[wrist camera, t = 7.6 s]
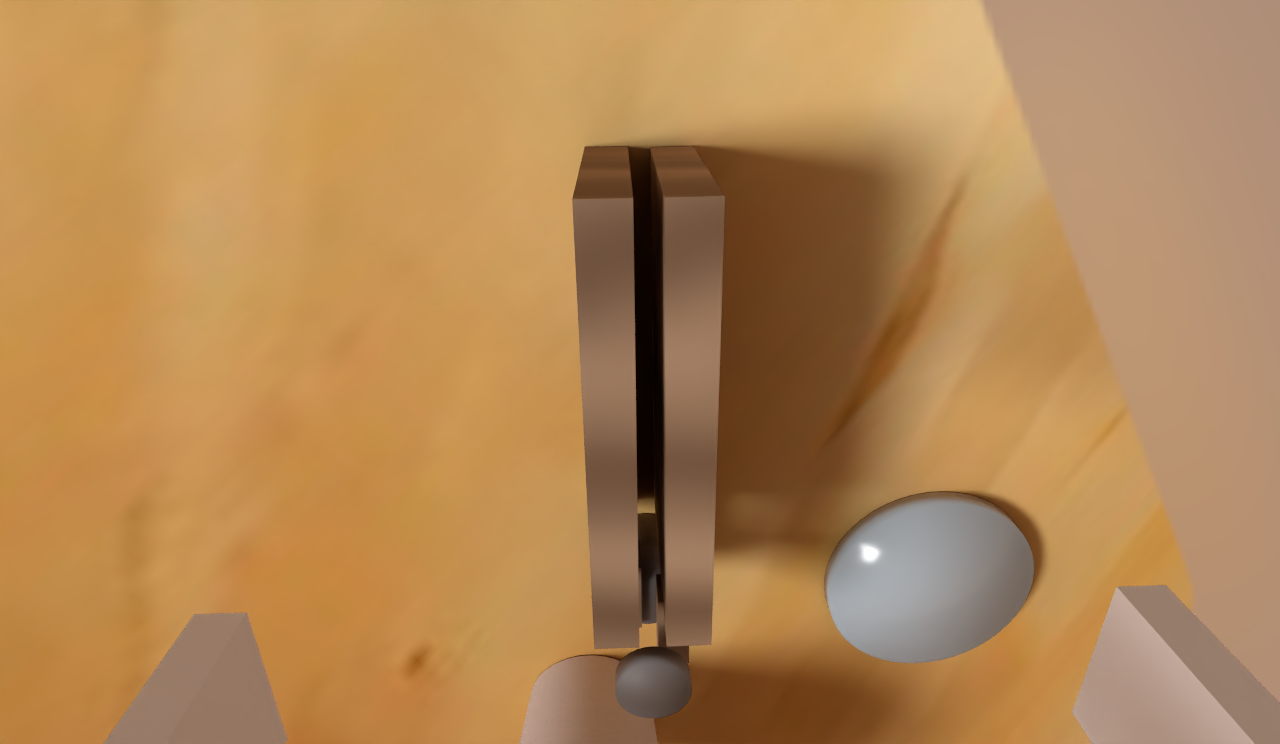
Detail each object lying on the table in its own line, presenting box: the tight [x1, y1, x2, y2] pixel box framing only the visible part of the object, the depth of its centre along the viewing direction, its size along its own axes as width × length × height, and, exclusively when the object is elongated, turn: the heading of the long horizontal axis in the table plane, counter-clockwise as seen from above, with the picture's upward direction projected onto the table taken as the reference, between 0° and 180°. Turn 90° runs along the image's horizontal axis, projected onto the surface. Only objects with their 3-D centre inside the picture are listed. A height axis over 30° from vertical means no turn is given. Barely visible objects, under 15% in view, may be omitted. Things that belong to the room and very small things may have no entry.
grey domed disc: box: [824, 492, 1034, 663], centre depth 36 cm, size 10×10×1 cm
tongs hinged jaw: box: [650, 146, 725, 663], centre depth 27 cm, size 19×2×9 cm, turn 1°
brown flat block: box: [572, 146, 692, 718], centre depth 28 cm, size 19×4×9 cm, turn 1°
